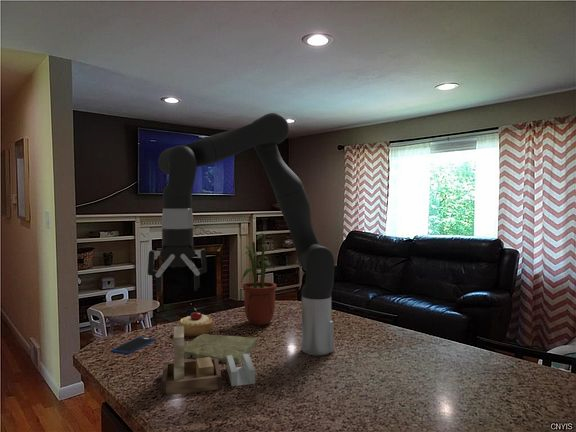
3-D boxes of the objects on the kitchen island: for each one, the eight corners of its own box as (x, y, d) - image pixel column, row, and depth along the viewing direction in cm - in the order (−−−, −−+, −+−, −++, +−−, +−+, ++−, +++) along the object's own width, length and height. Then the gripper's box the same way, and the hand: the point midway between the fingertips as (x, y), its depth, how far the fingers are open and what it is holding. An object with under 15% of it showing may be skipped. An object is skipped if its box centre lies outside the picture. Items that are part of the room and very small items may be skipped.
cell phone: (157, 340, 135) (157, 338, 135) (128, 355, 122) (128, 353, 122) (139, 338, 137) (139, 336, 137) (109, 353, 124) (109, 350, 124)
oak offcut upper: (210, 365, 105) (210, 356, 105) (213, 375, 99) (213, 366, 99) (196, 367, 104) (196, 358, 104) (199, 377, 98) (199, 368, 98)
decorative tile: (200, 342, 134) (200, 331, 134) (257, 346, 130) (257, 335, 130) (173, 364, 116) (173, 352, 115) (239, 370, 111) (239, 357, 111)
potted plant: (283, 322, 154) (283, 232, 153) (254, 332, 142) (254, 235, 141) (252, 314, 165) (252, 230, 164) (223, 322, 154) (222, 233, 153)
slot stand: (248, 369, 110) (248, 353, 110) (255, 387, 100) (255, 369, 100) (226, 371, 109) (226, 355, 109) (231, 390, 98) (231, 372, 98)
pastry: (184, 342, 134) (183, 316, 134) (175, 331, 145) (174, 307, 144) (218, 334, 140) (217, 310, 140) (207, 325, 150) (206, 302, 150)
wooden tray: (217, 371, 109) (217, 357, 109) (221, 392, 97) (221, 376, 97) (164, 377, 105) (163, 362, 105) (161, 400, 93) (161, 383, 93)
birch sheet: (184, 374, 105) (183, 325, 104) (184, 389, 96) (183, 337, 96) (174, 375, 104) (174, 326, 104) (174, 391, 96) (173, 337, 95)
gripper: (205, 225, 105) (206, 286, 105) (149, 226, 101) (149, 289, 102) (207, 227, 97) (207, 292, 98) (146, 228, 94) (146, 295, 94)
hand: (178, 290), depth 100 cm, fingers open, 8 cm apart
